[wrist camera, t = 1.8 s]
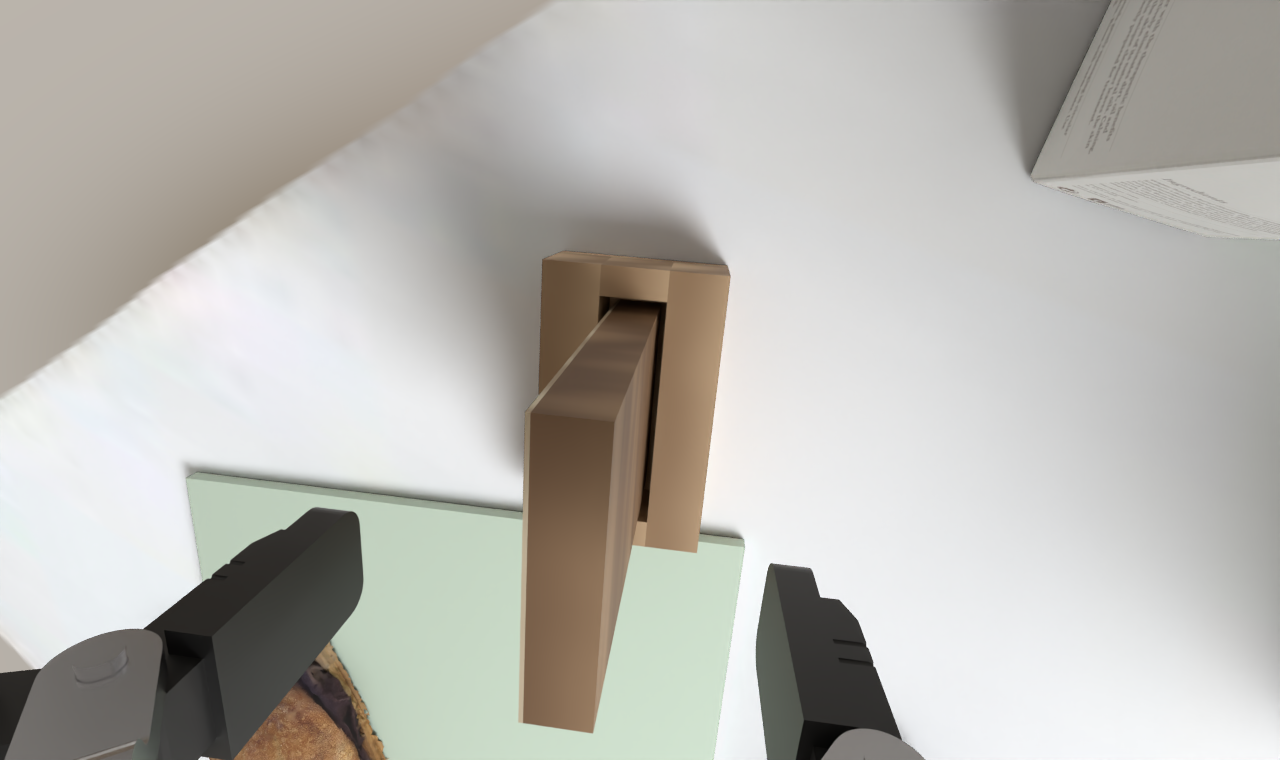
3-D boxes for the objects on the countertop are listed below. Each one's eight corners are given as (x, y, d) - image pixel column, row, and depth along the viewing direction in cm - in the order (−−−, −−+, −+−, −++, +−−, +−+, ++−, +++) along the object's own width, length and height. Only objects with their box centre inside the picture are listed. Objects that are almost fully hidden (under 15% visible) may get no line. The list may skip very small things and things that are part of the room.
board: (661, 303, 22) (614, 421, 11) (646, 477, 24) (593, 733, 13) (617, 299, 22) (524, 412, 11) (606, 473, 24) (518, 722, 13)
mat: (744, 539, 25) (744, 547, 24) (693, 881, 31) (693, 894, 30) (196, 471, 27) (185, 478, 26) (249, 807, 33) (241, 818, 32)
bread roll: (180, 640, 29) (108, 700, 26) (336, 619, 28) (282, 681, 24) (265, 808, 32) (210, 883, 28) (410, 797, 31) (371, 875, 27)
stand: (727, 265, 22) (730, 276, 19) (698, 511, 25) (696, 553, 22) (563, 250, 22) (542, 259, 20) (553, 494, 25) (534, 532, 22)
